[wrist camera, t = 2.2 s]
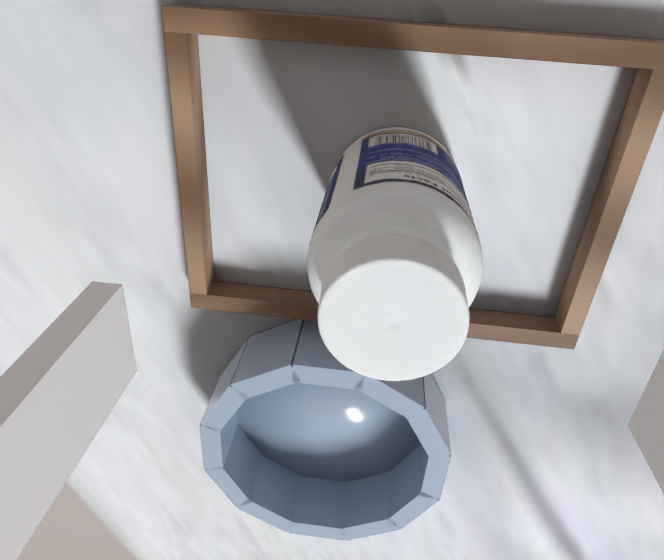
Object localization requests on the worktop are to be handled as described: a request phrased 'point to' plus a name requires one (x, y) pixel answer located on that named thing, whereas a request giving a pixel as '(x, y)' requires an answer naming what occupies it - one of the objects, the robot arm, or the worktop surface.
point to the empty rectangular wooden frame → (645, 54)
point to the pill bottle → (394, 257)
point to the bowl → (323, 439)
